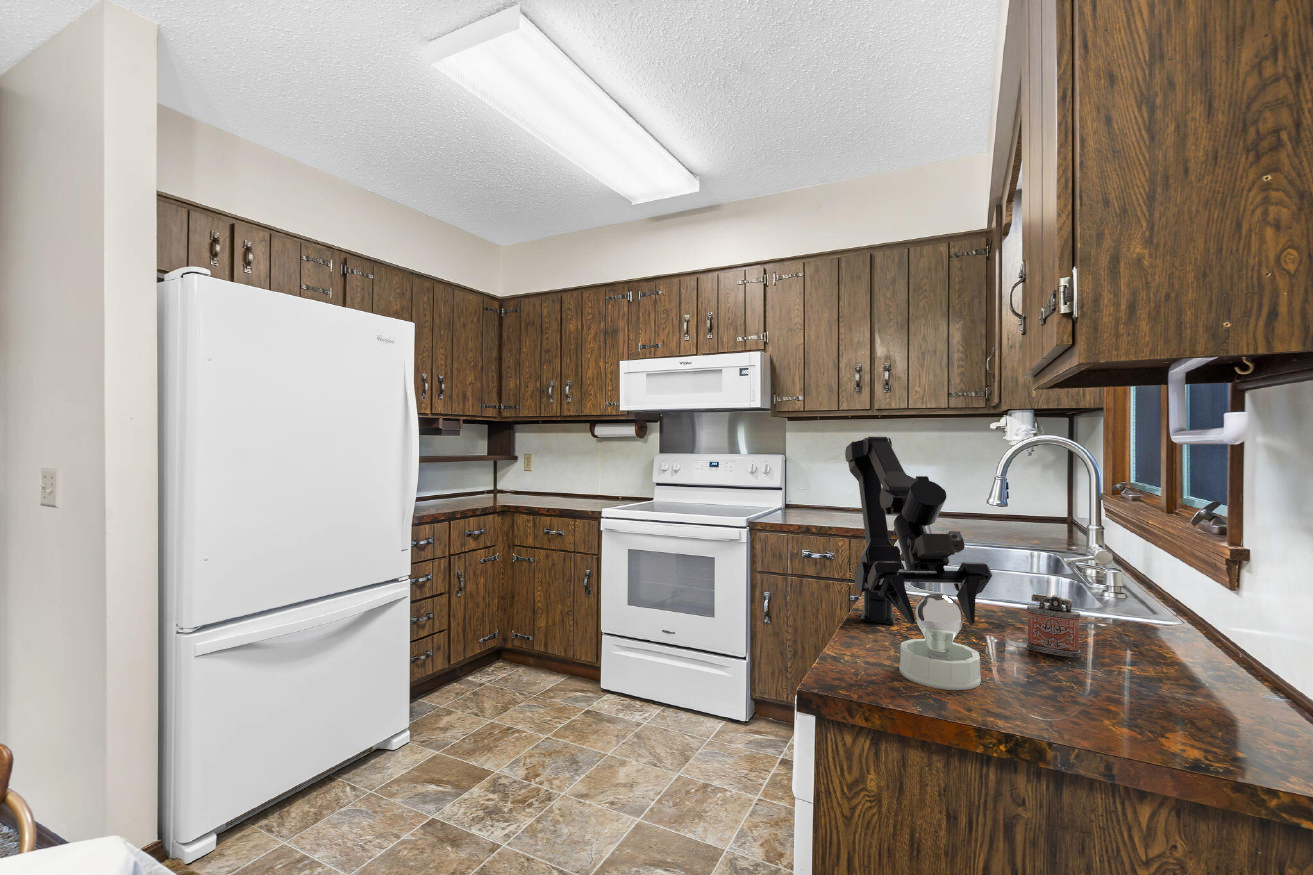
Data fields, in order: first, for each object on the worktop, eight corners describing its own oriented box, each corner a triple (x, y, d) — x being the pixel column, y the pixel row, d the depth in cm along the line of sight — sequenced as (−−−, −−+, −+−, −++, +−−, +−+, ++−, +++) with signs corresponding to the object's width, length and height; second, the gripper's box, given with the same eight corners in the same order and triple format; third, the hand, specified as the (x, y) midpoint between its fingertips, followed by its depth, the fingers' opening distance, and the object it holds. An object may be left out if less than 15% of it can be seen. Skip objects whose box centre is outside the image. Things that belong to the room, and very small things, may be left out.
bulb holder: (900, 658, 108) (900, 634, 108) (977, 668, 103) (977, 644, 103) (898, 682, 97) (898, 656, 97) (983, 695, 93) (984, 668, 93)
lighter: (1080, 653, 111) (1080, 596, 111) (1080, 658, 109) (1080, 600, 109) (1027, 644, 116) (1027, 590, 116) (1026, 649, 113) (1026, 594, 113)
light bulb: (956, 680, 96) (957, 601, 95) (909, 669, 100) (909, 594, 100) (967, 667, 101) (967, 592, 101) (921, 657, 105) (922, 586, 105)
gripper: (873, 512, 105) (895, 595, 94) (987, 514, 104) (1023, 597, 93) (859, 551, 113) (878, 632, 102) (965, 553, 112) (995, 634, 101)
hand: (942, 623), depth 99 cm, fingers open, 9 cm apart
